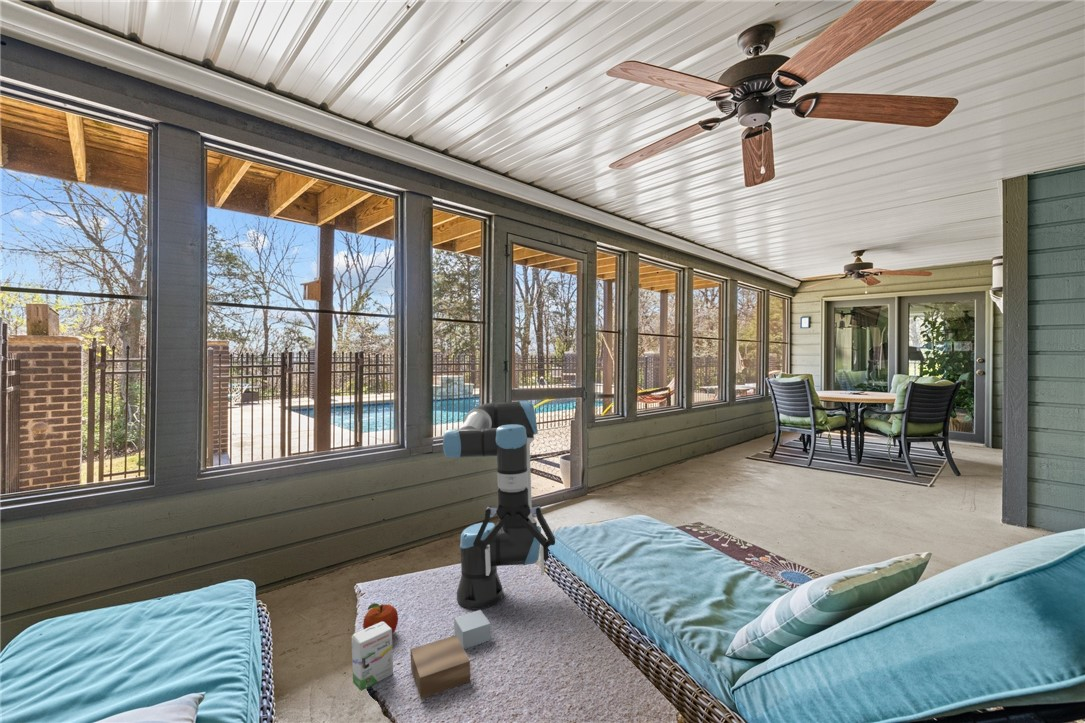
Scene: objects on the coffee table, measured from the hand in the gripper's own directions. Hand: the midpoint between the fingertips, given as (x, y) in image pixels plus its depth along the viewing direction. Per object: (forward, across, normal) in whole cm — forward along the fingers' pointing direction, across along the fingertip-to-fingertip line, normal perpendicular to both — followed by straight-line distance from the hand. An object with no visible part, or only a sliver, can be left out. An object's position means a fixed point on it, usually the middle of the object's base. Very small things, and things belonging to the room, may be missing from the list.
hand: (515, 572), depth 114 cm
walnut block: (+25, -20, 0) cm, 32 cm away
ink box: (+26, -36, -2) cm, 44 cm away
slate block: (+26, -14, +15) cm, 33 cm away
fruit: (+26, -41, +15) cm, 51 cm away
